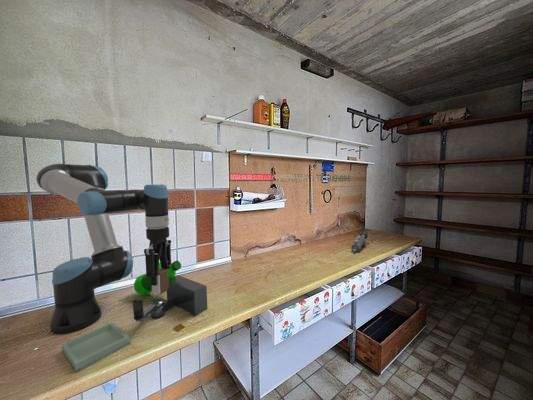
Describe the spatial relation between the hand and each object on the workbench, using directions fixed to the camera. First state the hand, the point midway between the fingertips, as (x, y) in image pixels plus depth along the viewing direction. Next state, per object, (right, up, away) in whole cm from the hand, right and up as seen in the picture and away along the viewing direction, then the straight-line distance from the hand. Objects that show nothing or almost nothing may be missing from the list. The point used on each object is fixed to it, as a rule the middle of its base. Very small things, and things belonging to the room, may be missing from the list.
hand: (160, 289), depth 85 cm
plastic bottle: (-22, -9, +25) cm, 34 cm away
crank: (-5, -9, +1) cm, 10 cm away
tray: (-15, -14, -11) cm, 24 cm away
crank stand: (+3, -13, +8) cm, 15 cm away
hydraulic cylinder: (+111, -4, +93) cm, 145 cm away
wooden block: (0, -1, 0) cm, 1 cm away
